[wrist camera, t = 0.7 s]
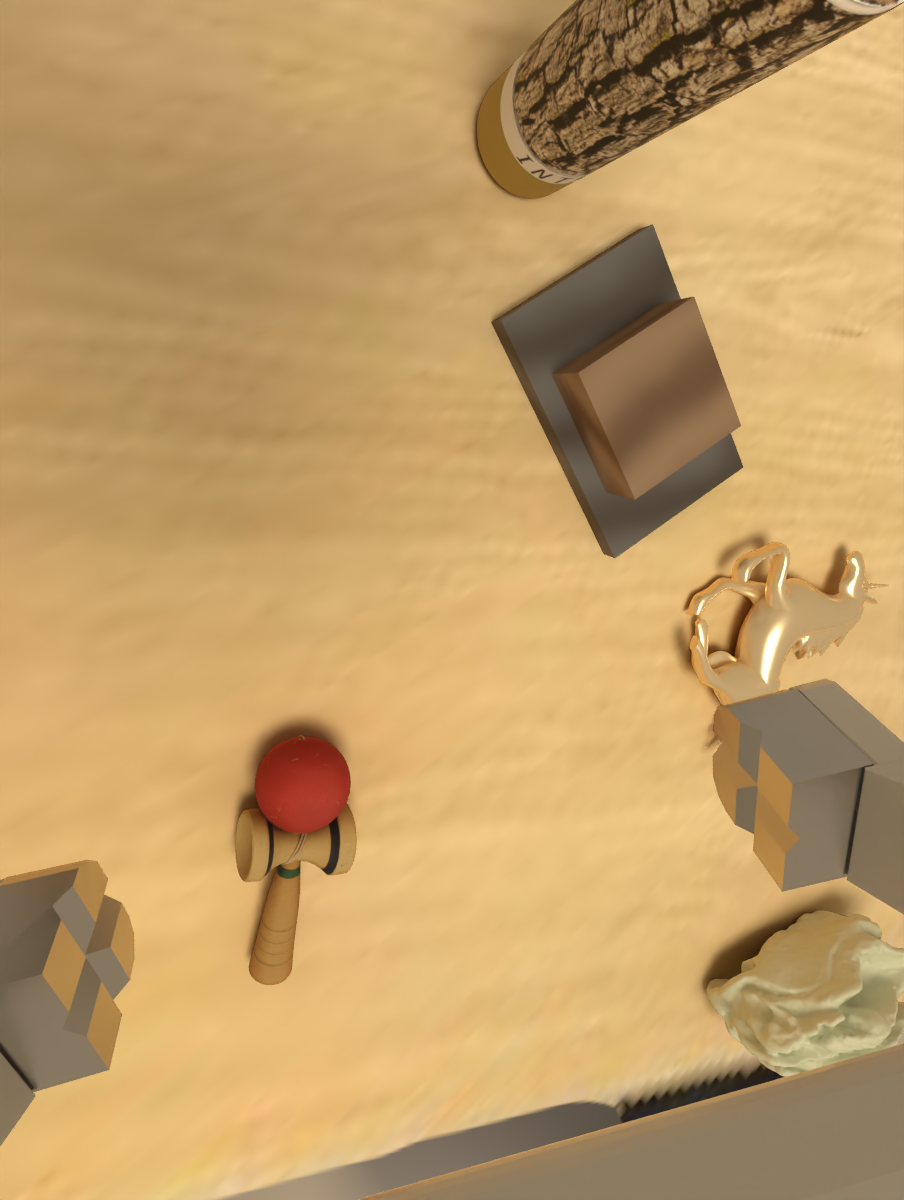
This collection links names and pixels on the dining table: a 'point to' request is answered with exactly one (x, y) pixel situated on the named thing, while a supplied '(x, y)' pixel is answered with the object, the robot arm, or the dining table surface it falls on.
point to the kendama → (293, 839)
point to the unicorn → (775, 622)
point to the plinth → (571, 336)
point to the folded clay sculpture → (815, 994)
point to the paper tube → (639, 77)
